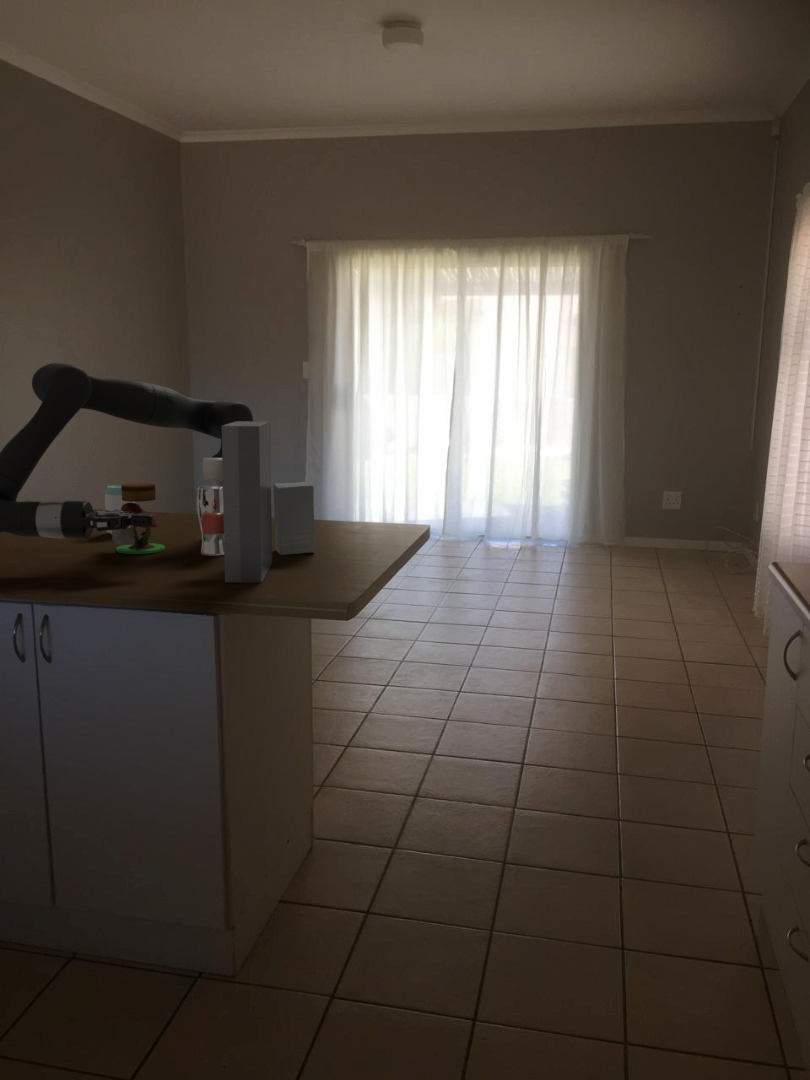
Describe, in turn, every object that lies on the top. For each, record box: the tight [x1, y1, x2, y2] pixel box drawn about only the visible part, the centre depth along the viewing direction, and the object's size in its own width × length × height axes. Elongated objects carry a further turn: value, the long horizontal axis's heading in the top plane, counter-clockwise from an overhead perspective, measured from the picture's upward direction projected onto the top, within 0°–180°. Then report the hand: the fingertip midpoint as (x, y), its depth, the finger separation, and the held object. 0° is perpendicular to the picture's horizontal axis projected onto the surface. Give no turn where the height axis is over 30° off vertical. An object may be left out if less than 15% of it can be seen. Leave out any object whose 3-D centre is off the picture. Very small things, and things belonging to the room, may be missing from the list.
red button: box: [201, 513, 224, 535], centre depth 178 cm, size 5×4×4 cm
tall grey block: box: [222, 421, 273, 584], centre depth 177 cm, size 7×18×30 cm, turn 2°
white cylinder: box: [201, 457, 223, 481], centre depth 176 cm, size 5×4×4 cm
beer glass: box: [196, 484, 224, 557], centre depth 198 cm, size 7×7×15 cm
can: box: [104, 484, 136, 536], centre depth 221 cm, size 7×7×12 cm
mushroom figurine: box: [111, 482, 166, 555], centre depth 200 cm, size 12×13×15 cm
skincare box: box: [273, 481, 316, 556], centre depth 200 cm, size 8×7×16 cm
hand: (152, 520), depth 177 cm, fingers closed
